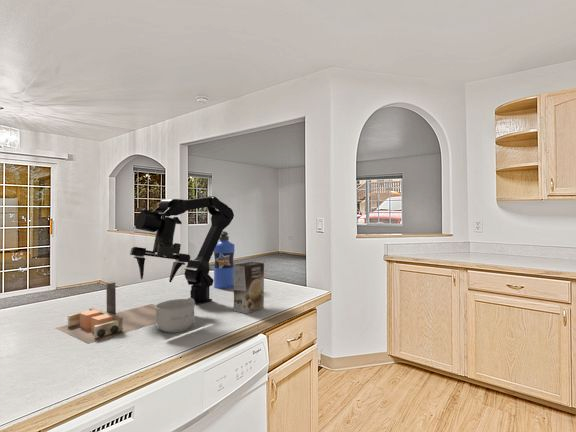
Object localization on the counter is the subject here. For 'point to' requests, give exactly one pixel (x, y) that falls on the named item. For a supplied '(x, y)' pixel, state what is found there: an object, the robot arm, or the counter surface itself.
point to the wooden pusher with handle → (111, 309)
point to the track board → (130, 322)
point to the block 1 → (87, 318)
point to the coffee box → (248, 287)
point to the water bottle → (224, 263)
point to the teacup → (175, 315)
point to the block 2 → (100, 320)
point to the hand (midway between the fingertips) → (156, 280)
